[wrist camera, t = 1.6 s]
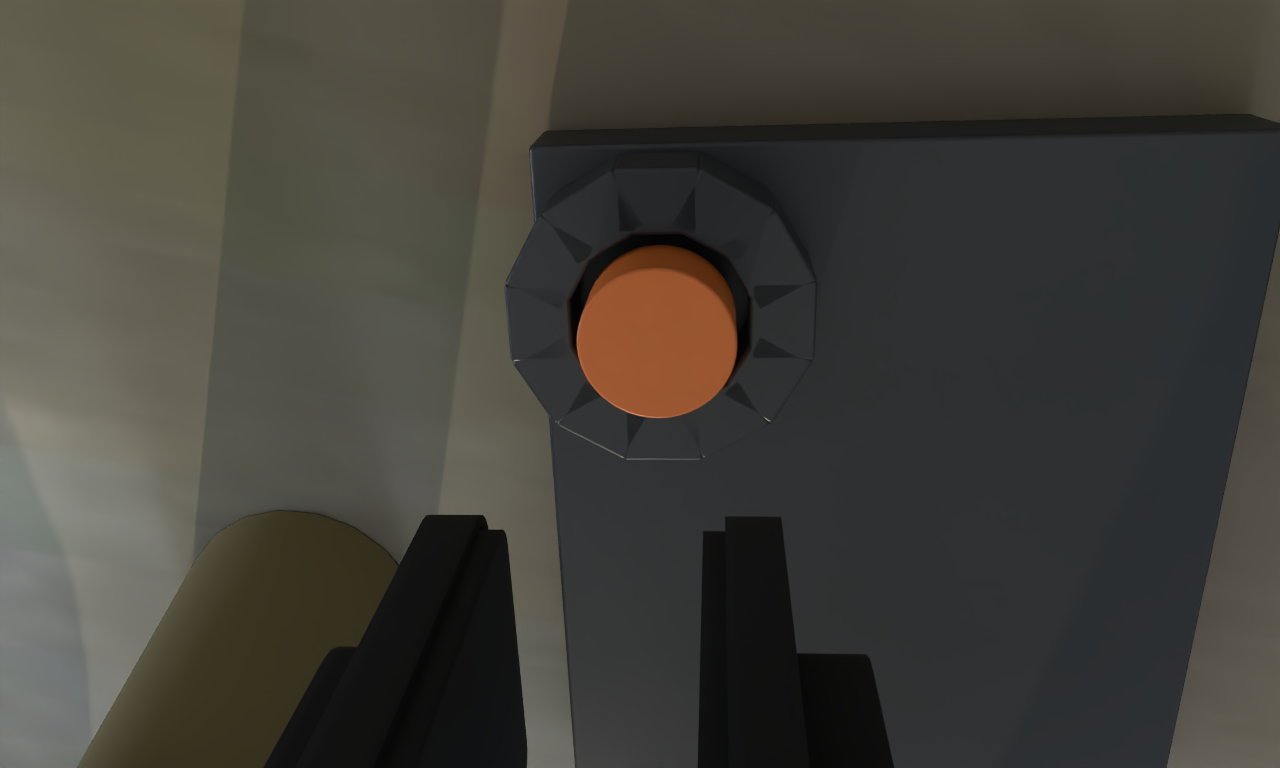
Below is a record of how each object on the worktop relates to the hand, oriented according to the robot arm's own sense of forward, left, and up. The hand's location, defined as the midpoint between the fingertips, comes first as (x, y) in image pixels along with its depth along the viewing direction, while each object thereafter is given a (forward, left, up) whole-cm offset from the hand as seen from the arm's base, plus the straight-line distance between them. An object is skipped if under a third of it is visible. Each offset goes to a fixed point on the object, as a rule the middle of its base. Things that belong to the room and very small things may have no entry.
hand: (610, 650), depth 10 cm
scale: (+5, +5, -13) cm, 15 cm away
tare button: (0, 0, -10) cm, 10 cm away
